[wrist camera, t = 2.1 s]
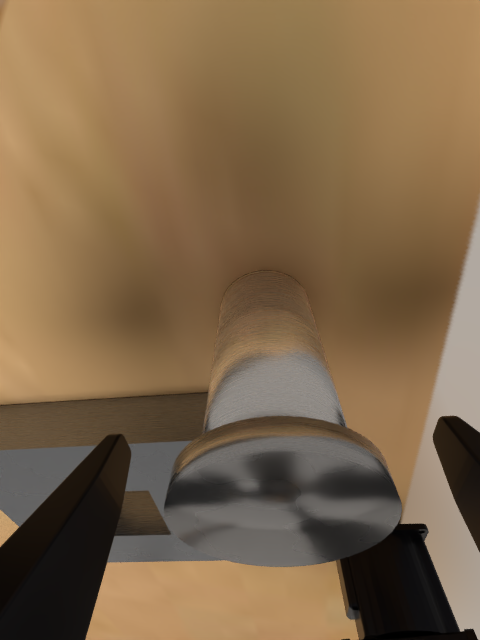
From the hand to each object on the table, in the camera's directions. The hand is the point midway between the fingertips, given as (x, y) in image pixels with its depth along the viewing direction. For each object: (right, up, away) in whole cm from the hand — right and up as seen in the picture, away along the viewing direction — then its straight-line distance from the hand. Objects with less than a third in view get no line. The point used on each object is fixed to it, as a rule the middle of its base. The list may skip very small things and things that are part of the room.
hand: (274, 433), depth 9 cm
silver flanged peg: (0, +4, +5) cm, 6 cm away
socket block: (-8, -7, +13) cm, 17 cm away
